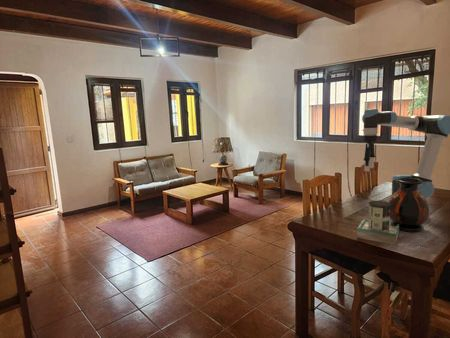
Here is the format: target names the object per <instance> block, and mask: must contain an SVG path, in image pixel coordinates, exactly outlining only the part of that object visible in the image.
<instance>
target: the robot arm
mask: <svg viewBox="0 0 450 338" xmlns="http://www.w3.org/2000/svg"><path fill="white" fill-rule="evenodd" d="M361 121H362V123H363V129H362V131H363V142H364V143H365V142H366V143H365V150H364V158H363V161H364V172H370V171H371V170H370V169H374V167H375V158H376V153H375V142H377V141H378V134H379V131H378V126H386V127H392V128H393V127H394V128H401V129H402V128H403V129H408V130H409V131H413V132H414V131H415V132H418V133H423V134H424V135H425V136H426V140H425V143H424V146H423V150H422V152H421V154H420V159H419V161H418V164H417V168H416V170H415V173H413V174H395V175H393V176H392V179H391V196H392V195H393V194H394V193H395V192H397V191H398V190H399V188H400V183H398V182H396V180H397V179H399V178H413V179H419V180H422V181H423V183H422V184H420V185H419V186H418V190H419V191H420V193H421V194H422V195H423V196H424V197H425V198H426V199H428V198H429V197H431V196H432V195H433V193H434V191H435V185H434V184H433V178H432V174H433V171H434V168H435V166H436V162H437V160H438V156H439V154H440V152H441V151H440V150H441V147H442V144H443V141H445V140H446V139H448V136H449V135H450V115H447V114H437V115H436V114H435V115H412V116H406V115H405V116H404V115H397V113H396V112H395V111H394V110H393V111H388V110H387V111H379V108H367V109H365V110H364V114H363V115H362V117H361Z"/></svg>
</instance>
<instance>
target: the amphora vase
mask: <svg viewBox="0 0 450 338" xmlns="http://www.w3.org/2000/svg"><path fill="white" fill-rule="evenodd" d="M396 182H398V183H400V188H399V190H398V191H397V192H395V193H394V194H393V195H392V194H391V196H389V198H388V200H387V202H388V203H390V204H391V205H390V219H389V220H391V221H390V222H389V226H395V227H396V226H397V224H399V231H401V232H406V233H418V232H422V231H423V230H424V228H425V227H424V224H426V223H427V222H428V221H429V219H430V217H431V206H430V204H429V201H428V200H427V198H425V197H424V196H423V195H422V194H421V193H420V191H419V190H418V186H419V185H420V184H422V183H423V181H422V180H419V179H413V178H399V179H397V180H396Z"/></svg>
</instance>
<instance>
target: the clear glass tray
mask: <svg viewBox="0 0 450 338" xmlns="http://www.w3.org/2000/svg"><path fill="white" fill-rule="evenodd" d="M356 230H357V231H356V238H357V239H362V240H367V241H372V242H379V243H383V244H390V245H396V244H397V241H398V238H399V235H400V230H399V224H397V226H396V227H395V226H391V225H389V231H386V232H383V231H377V230H371V229H369V228H368V221H367V222H366V219H362V221H361V222H360V224H359V225H358V227H357V228H356Z"/></svg>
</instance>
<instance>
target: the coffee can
mask: <svg viewBox="0 0 450 338" xmlns="http://www.w3.org/2000/svg"><path fill="white" fill-rule="evenodd" d="M390 205H391V204H390V203H388V201H383V200H372V201H369V202H368V221H367V222H368V228H369V229H371V230H377V231H383V232H386V231H389V226H390V220H391V219H390Z"/></svg>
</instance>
